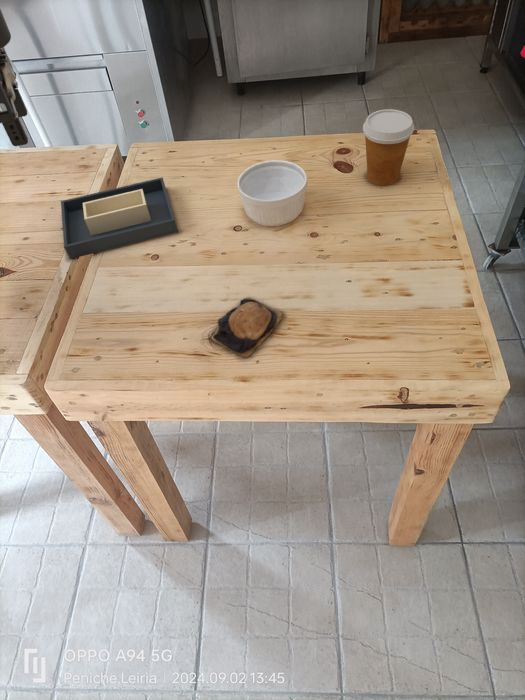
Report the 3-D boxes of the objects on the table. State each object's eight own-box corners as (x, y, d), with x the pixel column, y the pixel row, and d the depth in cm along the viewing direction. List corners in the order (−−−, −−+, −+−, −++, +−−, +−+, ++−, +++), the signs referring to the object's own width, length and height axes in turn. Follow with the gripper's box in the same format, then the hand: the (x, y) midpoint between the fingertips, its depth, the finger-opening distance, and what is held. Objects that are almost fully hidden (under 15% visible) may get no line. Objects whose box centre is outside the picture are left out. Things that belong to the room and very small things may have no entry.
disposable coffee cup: (368, 194, 106) (372, 138, 96) (353, 168, 112) (356, 113, 102) (413, 185, 106) (423, 128, 97) (397, 160, 112) (404, 104, 103)
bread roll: (246, 298, 91) (243, 282, 88) (286, 317, 87) (285, 302, 84) (206, 338, 86) (202, 323, 83) (247, 361, 82) (245, 345, 79)
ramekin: (240, 233, 101) (236, 203, 96) (241, 192, 110) (237, 162, 104) (309, 228, 101) (309, 197, 95) (305, 187, 109) (304, 156, 104)
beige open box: (91, 235, 104) (84, 219, 101) (89, 219, 108) (82, 202, 105) (151, 221, 106) (146, 204, 102) (147, 205, 109) (142, 188, 106)
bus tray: (69, 259, 101) (63, 247, 99) (66, 213, 110) (60, 200, 108) (178, 232, 103) (175, 219, 101) (165, 189, 113) (162, 177, 110)
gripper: (-62, -9, 69) (-4, 112, 81) (-74, 31, 60) (-7, 160, 73) (-3, -20, 70) (45, 102, 82) (-6, 18, 61) (48, 148, 74)
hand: (21, 129), depth 78 cm, fingers open, 8 cm apart
